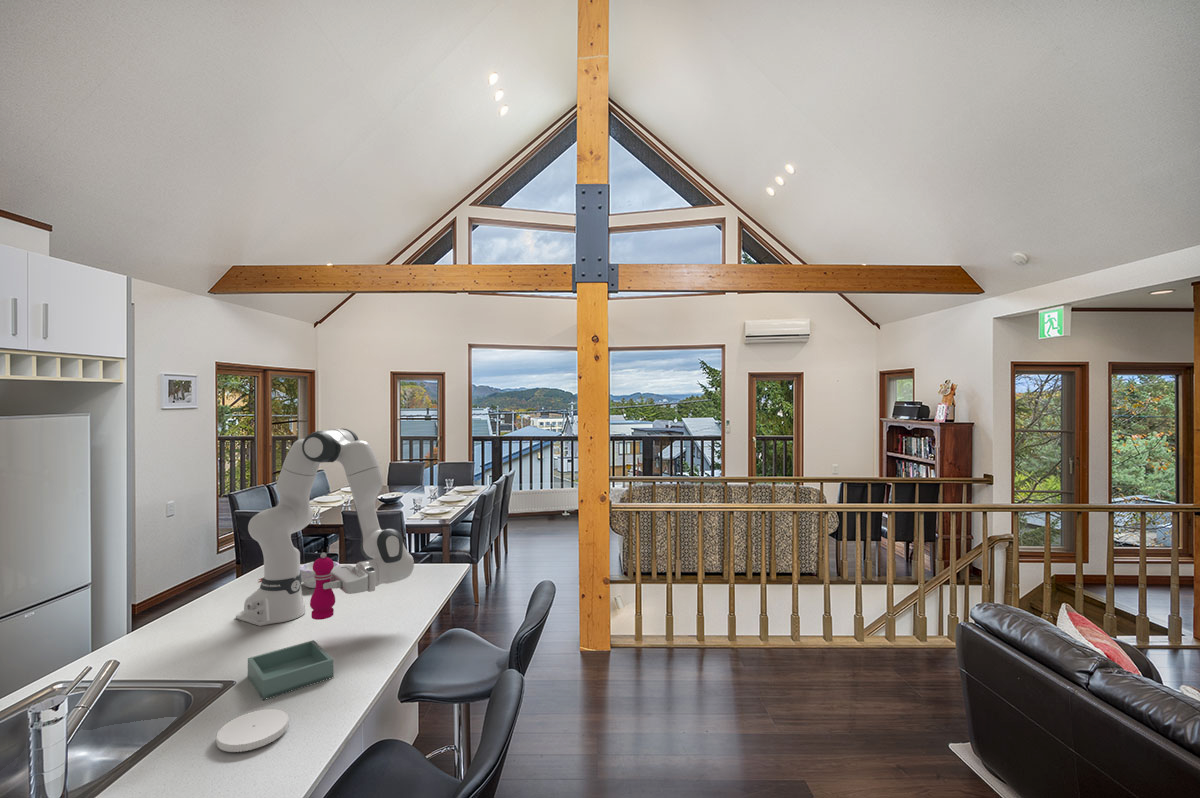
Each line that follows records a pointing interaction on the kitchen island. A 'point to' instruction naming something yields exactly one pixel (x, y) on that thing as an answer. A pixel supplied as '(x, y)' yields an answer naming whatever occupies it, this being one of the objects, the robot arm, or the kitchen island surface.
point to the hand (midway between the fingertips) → (320, 583)
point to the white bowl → (310, 574)
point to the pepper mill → (322, 597)
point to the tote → (289, 668)
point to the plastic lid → (252, 730)
